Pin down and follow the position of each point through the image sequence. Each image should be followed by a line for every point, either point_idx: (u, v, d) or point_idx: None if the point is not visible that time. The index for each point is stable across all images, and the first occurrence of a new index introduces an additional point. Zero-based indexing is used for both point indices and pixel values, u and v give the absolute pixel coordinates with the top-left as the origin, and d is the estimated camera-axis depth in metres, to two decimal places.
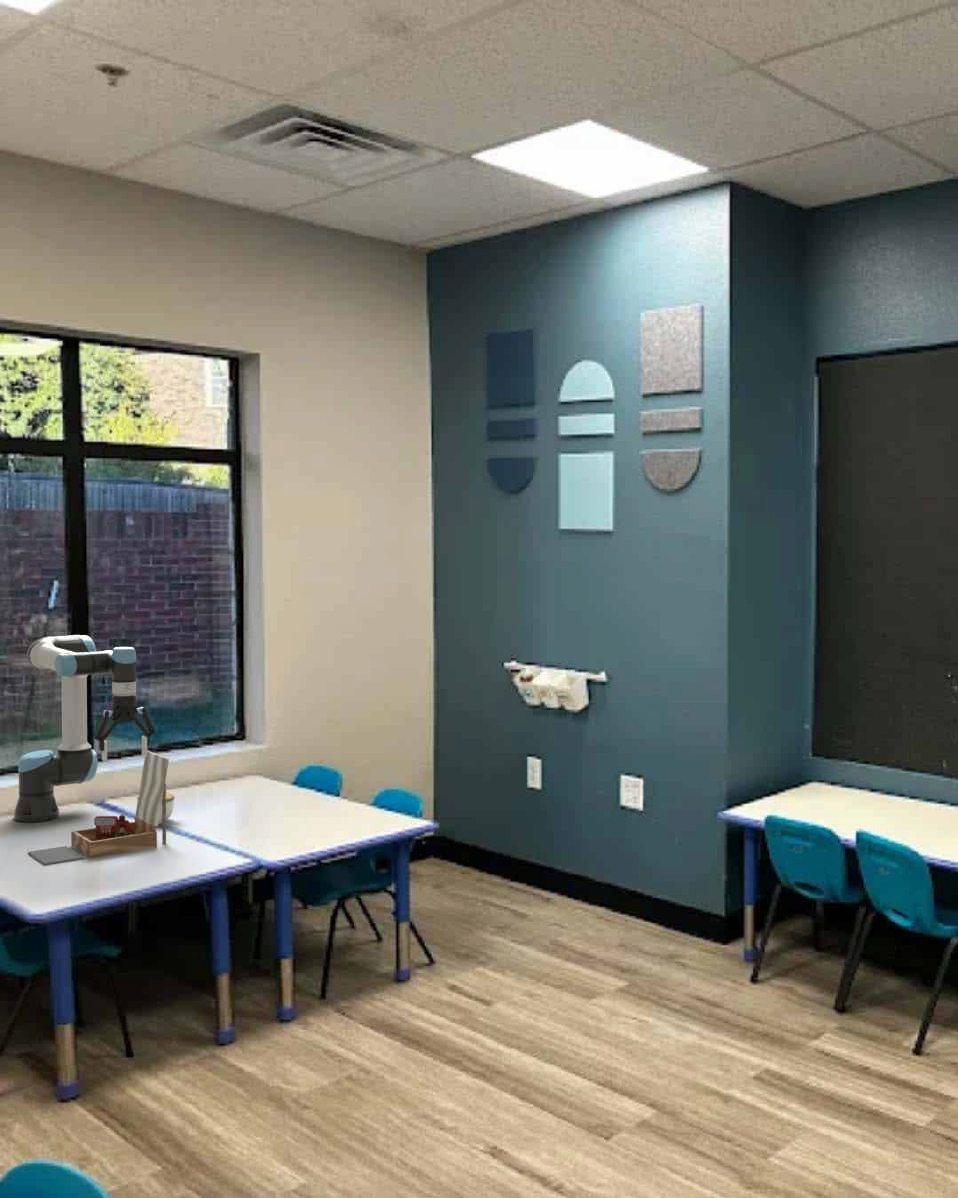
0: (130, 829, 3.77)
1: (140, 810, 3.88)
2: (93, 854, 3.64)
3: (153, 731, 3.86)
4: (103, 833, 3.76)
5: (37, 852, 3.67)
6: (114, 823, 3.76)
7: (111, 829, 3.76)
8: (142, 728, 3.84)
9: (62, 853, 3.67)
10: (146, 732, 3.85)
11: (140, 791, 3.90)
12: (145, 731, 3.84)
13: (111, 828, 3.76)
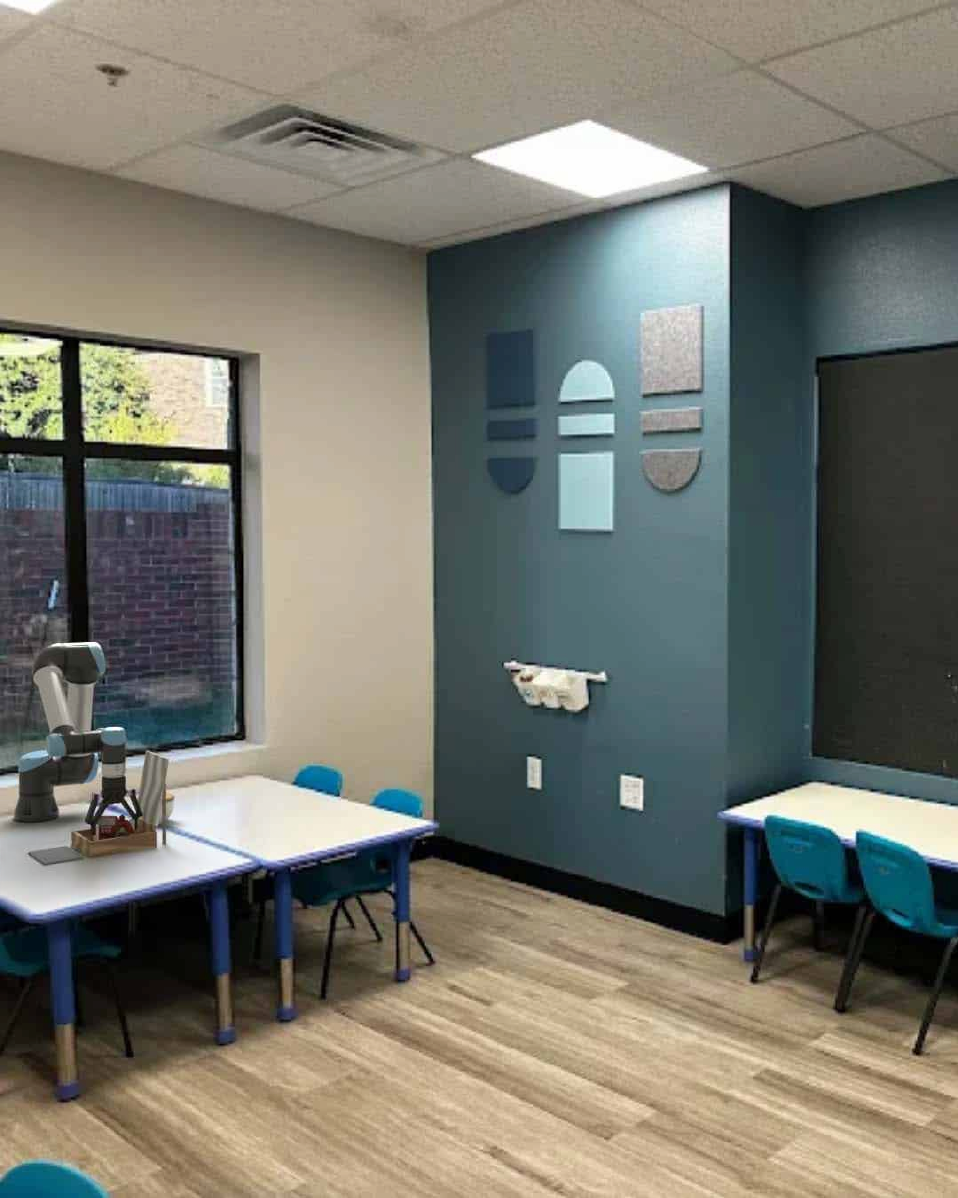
0: (130, 829, 3.77)
1: None
2: (93, 854, 3.64)
3: (141, 814, 3.81)
4: (103, 832, 3.76)
5: (37, 852, 3.67)
6: (114, 823, 3.76)
7: (111, 829, 3.76)
8: (130, 810, 3.79)
9: (62, 853, 3.67)
10: (134, 815, 3.80)
11: (140, 791, 3.90)
12: (133, 814, 3.79)
13: (111, 827, 3.76)
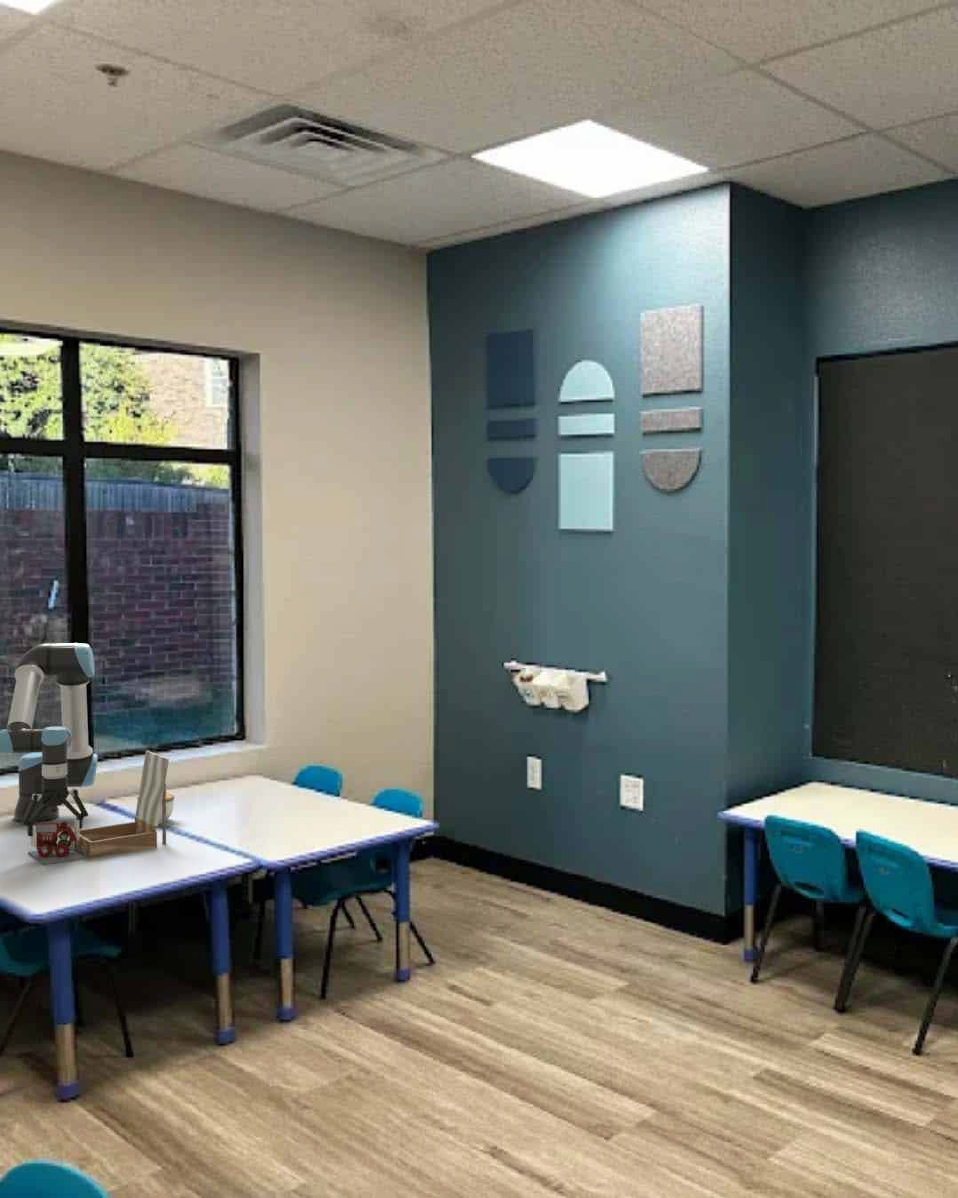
0: (72, 836, 3.65)
1: (140, 810, 3.88)
2: (93, 854, 3.64)
3: (86, 813, 3.70)
4: (44, 840, 3.64)
5: (37, 852, 3.67)
6: (55, 830, 3.65)
7: (52, 836, 3.64)
8: (74, 811, 3.67)
9: None
10: (78, 815, 3.68)
11: (140, 791, 3.90)
12: (77, 814, 3.68)
13: (53, 835, 3.64)
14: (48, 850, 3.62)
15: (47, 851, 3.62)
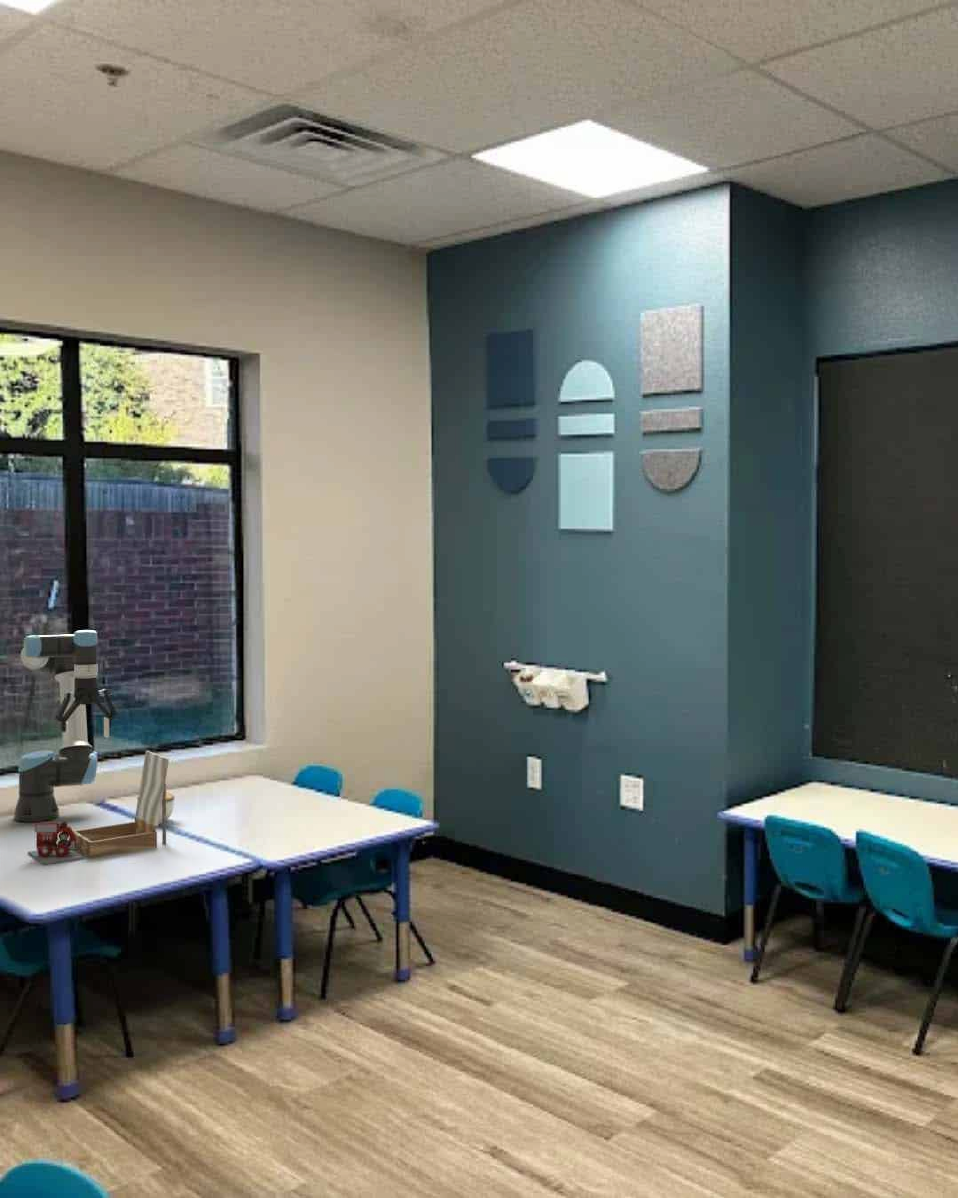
0: (72, 836, 3.65)
1: (140, 810, 3.88)
2: (93, 854, 3.64)
3: (115, 713, 3.93)
4: (44, 840, 3.64)
5: (37, 852, 3.67)
6: (55, 830, 3.65)
7: (52, 836, 3.64)
8: (104, 710, 3.91)
9: None
10: (108, 714, 3.92)
11: (140, 791, 3.90)
12: (107, 713, 3.92)
13: (53, 835, 3.64)
14: (48, 850, 3.62)
15: (47, 851, 3.62)
